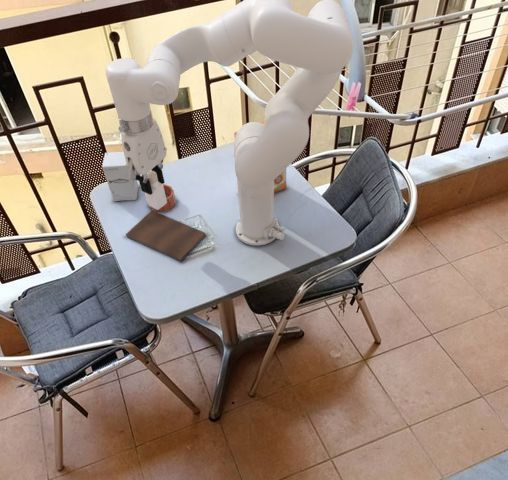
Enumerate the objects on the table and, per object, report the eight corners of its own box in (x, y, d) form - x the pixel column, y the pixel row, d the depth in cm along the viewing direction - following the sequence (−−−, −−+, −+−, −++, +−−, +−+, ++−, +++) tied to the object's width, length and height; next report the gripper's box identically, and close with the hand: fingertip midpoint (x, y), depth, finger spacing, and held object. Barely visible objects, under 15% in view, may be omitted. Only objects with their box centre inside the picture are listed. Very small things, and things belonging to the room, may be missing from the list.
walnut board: (206, 235, 134) (205, 232, 133) (181, 261, 129) (180, 259, 128) (152, 212, 141) (151, 210, 140) (126, 236, 135) (125, 234, 134)
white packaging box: (113, 202, 144) (100, 166, 134) (116, 186, 148) (104, 151, 138) (136, 200, 144) (126, 165, 134) (139, 185, 148) (129, 150, 138)
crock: (180, 200, 144) (178, 189, 140) (164, 215, 140) (162, 204, 137) (160, 192, 146) (157, 181, 143) (144, 206, 142) (141, 196, 139)
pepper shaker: (158, 211, 124) (150, 181, 116) (147, 205, 125) (138, 175, 118) (168, 203, 126) (161, 173, 118) (157, 197, 127) (149, 167, 119)
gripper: (124, 143, 101) (143, 210, 116) (171, 107, 109) (184, 174, 124) (99, 134, 103) (121, 201, 118) (147, 99, 111) (162, 165, 126)
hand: (153, 186), depth 121 cm, fingers closed on pepper shaker, 4 cm apart
